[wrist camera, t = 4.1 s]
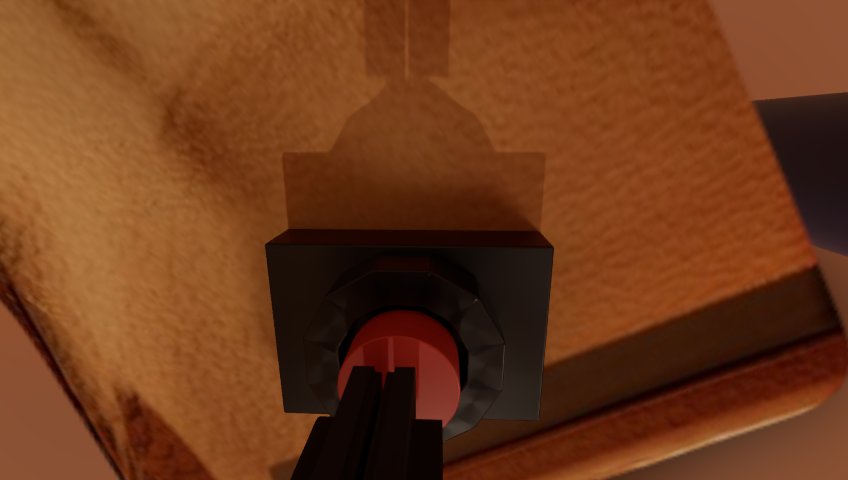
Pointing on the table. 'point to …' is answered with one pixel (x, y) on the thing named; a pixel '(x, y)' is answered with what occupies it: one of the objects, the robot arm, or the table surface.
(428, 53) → the table surface
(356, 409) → the robot arm
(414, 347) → the button
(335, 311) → the button block
